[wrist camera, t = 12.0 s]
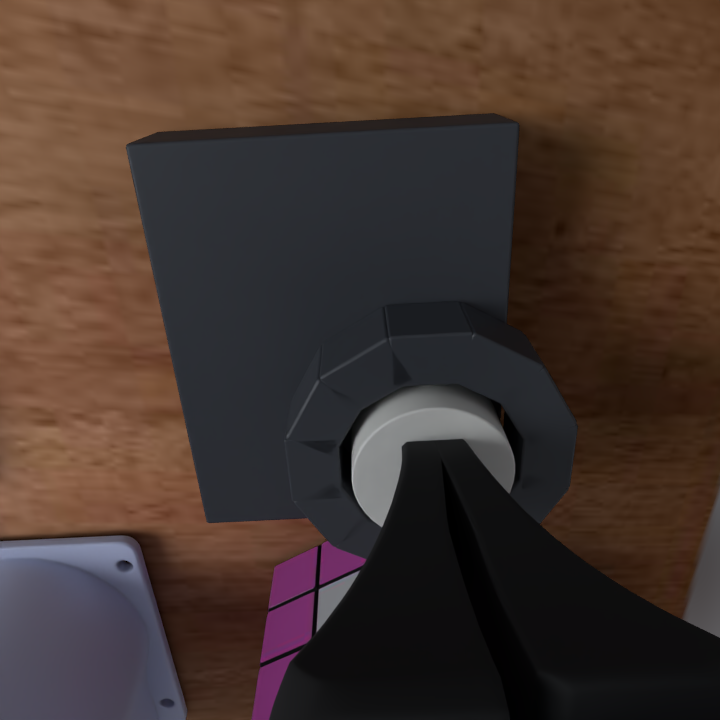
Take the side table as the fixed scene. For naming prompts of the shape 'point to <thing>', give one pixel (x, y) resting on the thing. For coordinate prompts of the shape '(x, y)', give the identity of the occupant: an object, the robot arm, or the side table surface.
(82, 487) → the side table surface
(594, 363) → the side table surface
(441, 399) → the power button
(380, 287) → the switch block
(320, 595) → the puzzle toy
